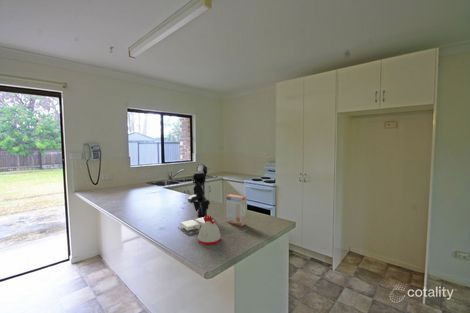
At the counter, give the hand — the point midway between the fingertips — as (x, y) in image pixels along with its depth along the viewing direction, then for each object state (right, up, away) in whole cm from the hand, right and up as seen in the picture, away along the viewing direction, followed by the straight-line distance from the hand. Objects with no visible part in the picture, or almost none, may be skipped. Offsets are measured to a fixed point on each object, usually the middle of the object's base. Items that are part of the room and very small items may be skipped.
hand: (199, 212), depth 152 cm
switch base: (-1, -11, 0) cm, 11 cm away
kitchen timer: (+9, -12, -19) cm, 24 cm away
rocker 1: (-6, -7, -4) cm, 10 cm away
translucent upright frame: (+26, -11, +9) cm, 29 cm away
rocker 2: (+3, -7, +3) cm, 8 cm away
